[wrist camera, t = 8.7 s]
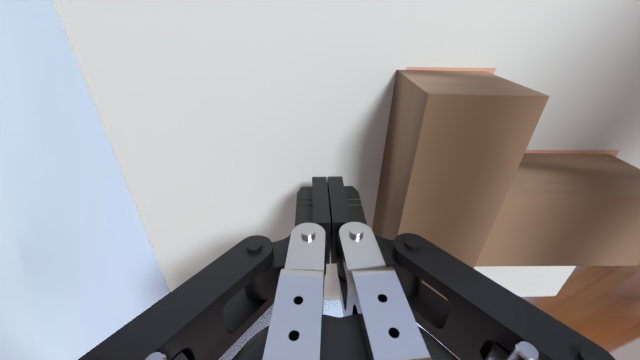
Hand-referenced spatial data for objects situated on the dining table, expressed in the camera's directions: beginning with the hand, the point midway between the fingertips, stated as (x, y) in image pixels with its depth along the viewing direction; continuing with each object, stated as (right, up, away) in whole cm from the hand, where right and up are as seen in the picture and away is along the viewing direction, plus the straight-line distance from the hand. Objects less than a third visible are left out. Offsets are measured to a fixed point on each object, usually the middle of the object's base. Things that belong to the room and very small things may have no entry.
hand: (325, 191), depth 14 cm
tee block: (+9, 0, +2) cm, 9 cm away
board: (+3, +1, +2) cm, 4 cm away
